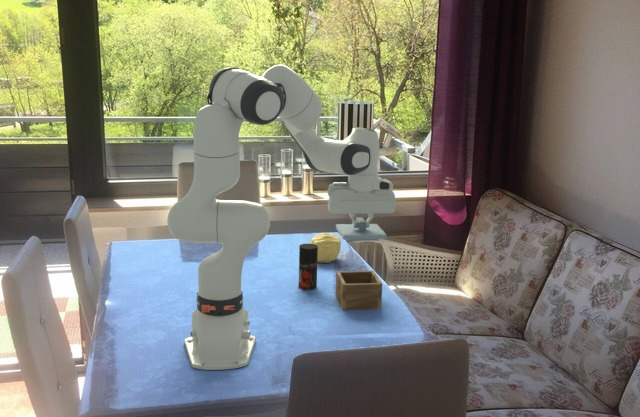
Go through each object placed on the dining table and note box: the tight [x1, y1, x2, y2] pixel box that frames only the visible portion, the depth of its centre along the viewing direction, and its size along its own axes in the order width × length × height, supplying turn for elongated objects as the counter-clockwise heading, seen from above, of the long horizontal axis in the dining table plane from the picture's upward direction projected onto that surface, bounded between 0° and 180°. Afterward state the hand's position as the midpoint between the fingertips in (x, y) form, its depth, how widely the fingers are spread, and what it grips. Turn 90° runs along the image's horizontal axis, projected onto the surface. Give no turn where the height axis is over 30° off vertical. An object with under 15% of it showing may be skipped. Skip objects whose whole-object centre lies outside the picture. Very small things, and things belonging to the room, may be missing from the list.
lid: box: [335, 216, 387, 242], centre depth 193 cm, size 13×13×5 cm
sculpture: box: [309, 232, 342, 264], centre depth 239 cm, size 11×12×11 cm
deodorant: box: [298, 243, 318, 291], centre depth 209 cm, size 6×6×15 cm
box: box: [335, 270, 383, 311], centre depth 198 cm, size 12×12×9 cm
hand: (360, 227), depth 193 cm, fingers closed on lid
